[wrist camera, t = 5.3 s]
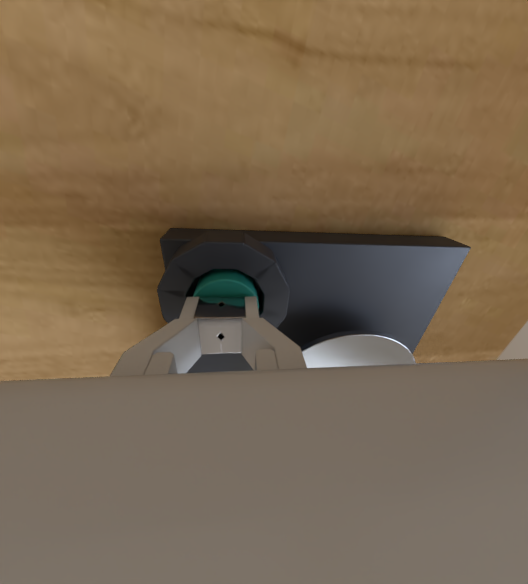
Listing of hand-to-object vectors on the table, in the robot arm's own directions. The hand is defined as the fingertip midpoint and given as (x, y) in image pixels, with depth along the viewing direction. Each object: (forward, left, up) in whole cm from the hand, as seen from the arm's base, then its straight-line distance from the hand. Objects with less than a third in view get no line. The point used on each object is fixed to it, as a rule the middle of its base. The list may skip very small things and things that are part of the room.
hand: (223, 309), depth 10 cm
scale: (-5, +4, -4) cm, 8 cm away
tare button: (0, 0, -2) cm, 2 cm away
